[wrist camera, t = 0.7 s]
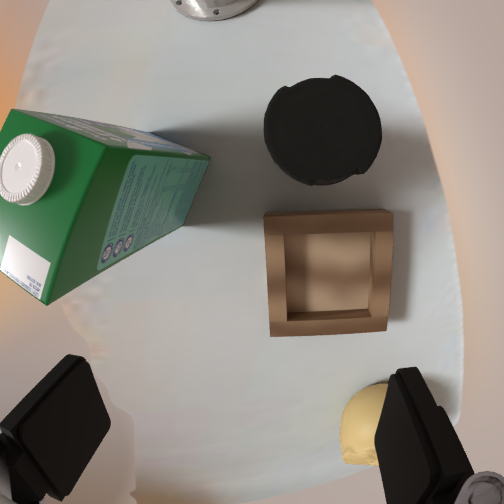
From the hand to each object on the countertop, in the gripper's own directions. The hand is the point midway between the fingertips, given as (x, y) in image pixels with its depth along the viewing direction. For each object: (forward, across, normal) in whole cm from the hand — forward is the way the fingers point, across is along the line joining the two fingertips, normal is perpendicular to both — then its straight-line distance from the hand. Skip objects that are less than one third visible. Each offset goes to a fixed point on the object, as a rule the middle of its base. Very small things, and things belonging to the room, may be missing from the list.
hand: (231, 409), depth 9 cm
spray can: (+30, -4, -8) cm, 32 cm away
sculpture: (+29, -15, +28) cm, 43 cm away
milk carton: (+30, +13, -6) cm, 34 cm away
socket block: (+30, -6, +6) cm, 31 cm away
